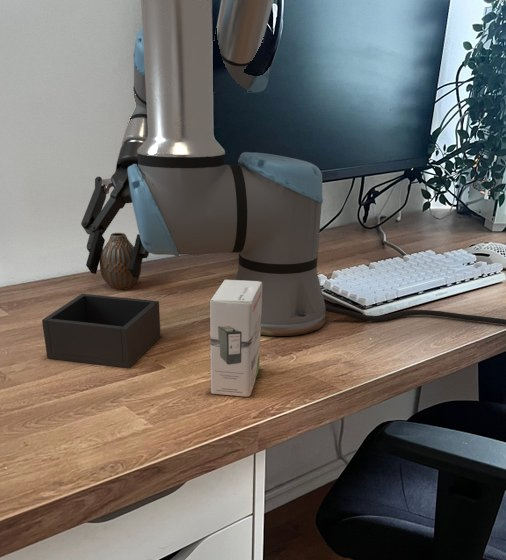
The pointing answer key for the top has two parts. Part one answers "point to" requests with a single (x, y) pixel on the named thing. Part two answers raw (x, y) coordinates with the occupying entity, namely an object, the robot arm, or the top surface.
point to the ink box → (235, 337)
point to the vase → (117, 262)
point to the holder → (102, 330)
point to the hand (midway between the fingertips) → (112, 271)
